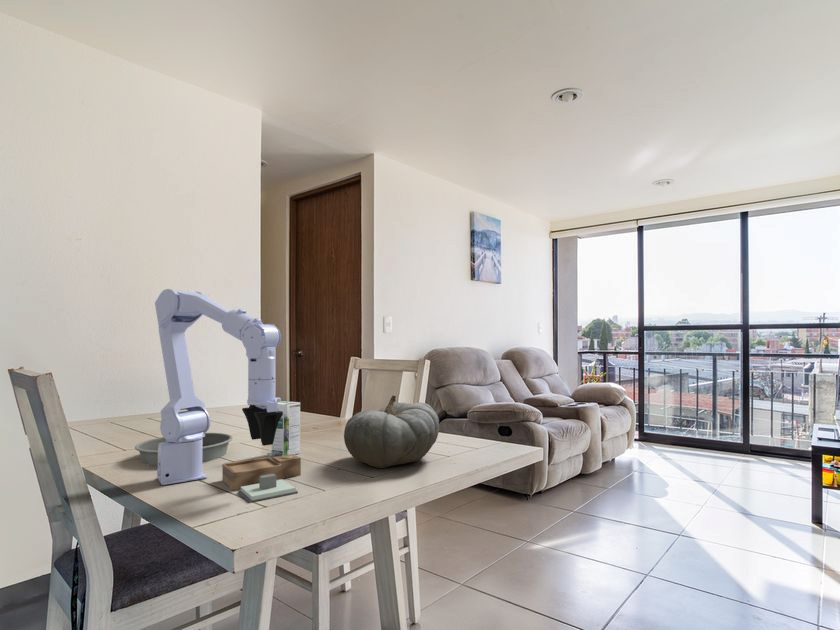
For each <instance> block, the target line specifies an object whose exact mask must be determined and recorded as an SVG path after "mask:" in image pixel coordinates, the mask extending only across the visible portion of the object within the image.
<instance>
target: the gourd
mask: <svg viewBox="0 0 840 630" xmlns="http://www.w3.org/2000/svg"><path fill="white" fill-rule="evenodd" d="M396 397H397V396H396V395H391V397H390V400H389V401H388V404H387V406H386V407H383V408H380V409H379V410H375V409H366V410H363V411H359V412H356V413H355V414H354V415H353V416H351V417H350V418H349V419H348V420H347V422H346V424H345V427H344V431H343V439H344V445H345V447H346V450H348V453H349V454H350V455H351V456H352V457H353V458H354V460H355V461H357V462H360V463H362V464H367V465H369V466H371V467H375V468H377V469H378V468H379V469H384V468H385V469H386V468H387V467H392V466H397V465H405V464H408V463H415V462H418V461H420V460H422V459H423V458H424V457H425V456H426V455H427V453H429V451H430V450H431V449H432V447H433V446H434V444H435V443H436V441H437V439H438V436H439V433H440V419H439V416H438V414H437V413H436V411H435V410H434V408H433V407H432V406H431V405H429V404H428V403H425V402H414V403H407V402H396Z"/></svg>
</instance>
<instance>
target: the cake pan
mask: <svg viewBox="0 0 840 630" xmlns="http://www.w3.org/2000/svg"><path fill="white" fill-rule="evenodd" d="M233 438H234V437H233V436H232V435H231V434H227V433H222V432H206V433H205V437H203V445H202V463H204V462H205V463H206V462H210V461H213V460H217V459H220V458H222V457H224V456H225V455H226V454H227V452H228V448H229V443H230V442H231V441H232V440H233ZM163 442H166V439H165V438H164V437H163V436H161V437H156V438H152V439H149V440H145V441H144V440H143V441H142V442H139V443H138V444H136V445H135V446H134V449H135V450H136V451H137V452H139V456H140V458H141V463H142V464H144V463H145V465H147V464H148V465H147V466H152V465H153V467H154V466H155V467H158V445H159V443H163Z"/></svg>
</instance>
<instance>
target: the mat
mask: <svg viewBox="0 0 840 630" xmlns="http://www.w3.org/2000/svg"><path fill="white" fill-rule="evenodd" d="M298 493H299V492H298V490H297V489H296V492H292V493H287V494H282V495H277V496H272V497H267V498H262V499H257V500H251V499H250V498H249V497H247V496H246V495H245V494H244V493H243V492H242V491H241V490H238V494H240V496H242V497H243V499H244V500H246V501H247V502H248V503H254V502H258V501H262V500H269V499H272V498H273V499H274V498H278V497H284V496H289V495H294V494H298Z"/></svg>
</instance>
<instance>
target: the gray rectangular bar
mask: <svg viewBox="0 0 840 630" xmlns="http://www.w3.org/2000/svg"><path fill="white" fill-rule="evenodd" d="M277 456H282V453H280V452H277V453H276V452H272V451H270V452H267V453H266V457H267V458H268V457H271V458H272V459H273V457H277Z"/></svg>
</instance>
